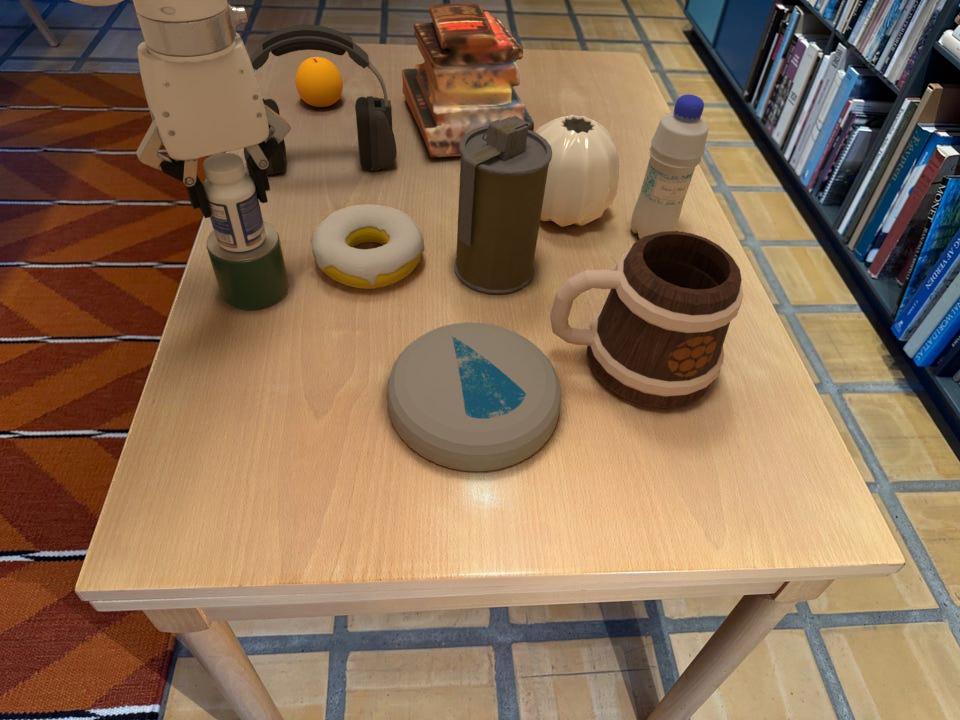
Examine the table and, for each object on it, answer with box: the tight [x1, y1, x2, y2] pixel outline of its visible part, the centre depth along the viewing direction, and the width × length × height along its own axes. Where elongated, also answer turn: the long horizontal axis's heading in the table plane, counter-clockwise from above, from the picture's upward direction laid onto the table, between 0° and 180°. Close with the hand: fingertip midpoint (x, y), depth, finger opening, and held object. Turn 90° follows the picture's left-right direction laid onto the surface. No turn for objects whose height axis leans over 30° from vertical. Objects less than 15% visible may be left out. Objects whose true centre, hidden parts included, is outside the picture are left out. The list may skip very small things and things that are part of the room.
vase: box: [535, 114, 620, 228], centre depth 90 cm, size 14×14×13 cm
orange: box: [294, 56, 344, 108], centre depth 110 cm, size 8×8×8 cm
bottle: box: [630, 93, 709, 240], centre depth 85 cm, size 7×7×20 cm
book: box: [401, 2, 535, 159], centre depth 104 cm, size 23×18×17 cm
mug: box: [549, 230, 744, 409], centre depth 69 cm, size 20×15×15 cm
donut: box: [311, 203, 425, 290], centre depth 82 cm, size 14×14×5 cm
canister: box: [453, 116, 552, 295], centre depth 77 cm, size 11×10×20 cm
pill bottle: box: [202, 152, 266, 252], centre depth 70 cm, size 5×5×10 cm
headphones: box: [243, 23, 398, 176], centre depth 92 cm, size 22×6×20 cm, turn 100°
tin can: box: [206, 220, 290, 311], centre depth 77 cm, size 8×8×8 cm
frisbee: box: [386, 321, 562, 472], centre depth 68 cm, size 18×18×5 cm
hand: (232, 202), depth 70 cm, fingers closed on pill bottle, 5 cm apart
